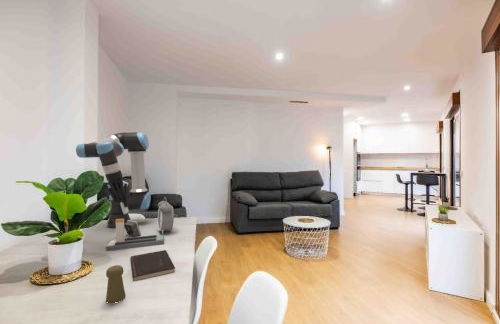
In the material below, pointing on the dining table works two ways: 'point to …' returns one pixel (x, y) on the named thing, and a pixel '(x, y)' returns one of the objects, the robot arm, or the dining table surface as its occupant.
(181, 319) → the dining table surface
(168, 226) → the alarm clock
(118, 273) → the cork
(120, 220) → the breaker handle
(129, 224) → the electrical switch
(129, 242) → the panel
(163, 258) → the hardcover book
